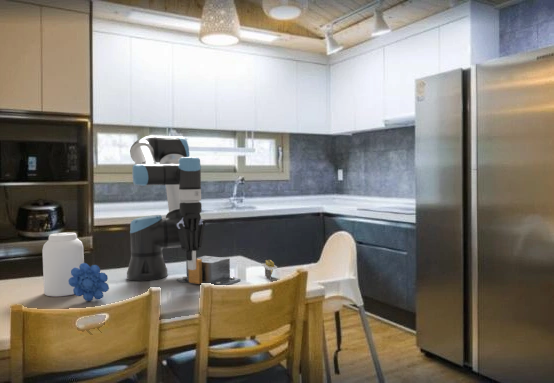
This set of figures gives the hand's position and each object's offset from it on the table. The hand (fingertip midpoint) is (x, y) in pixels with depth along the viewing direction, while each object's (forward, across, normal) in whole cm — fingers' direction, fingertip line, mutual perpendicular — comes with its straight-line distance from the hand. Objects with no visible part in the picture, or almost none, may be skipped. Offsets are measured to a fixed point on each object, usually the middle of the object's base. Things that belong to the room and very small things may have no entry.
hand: (192, 269), depth 155 cm
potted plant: (+7, +24, -17) cm, 30 cm away
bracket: (+6, +8, 0) cm, 10 cm away
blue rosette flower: (+6, -31, +14) cm, 34 cm away
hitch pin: (+5, +8, 0) cm, 10 cm away
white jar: (+6, -28, +32) cm, 43 cm away
